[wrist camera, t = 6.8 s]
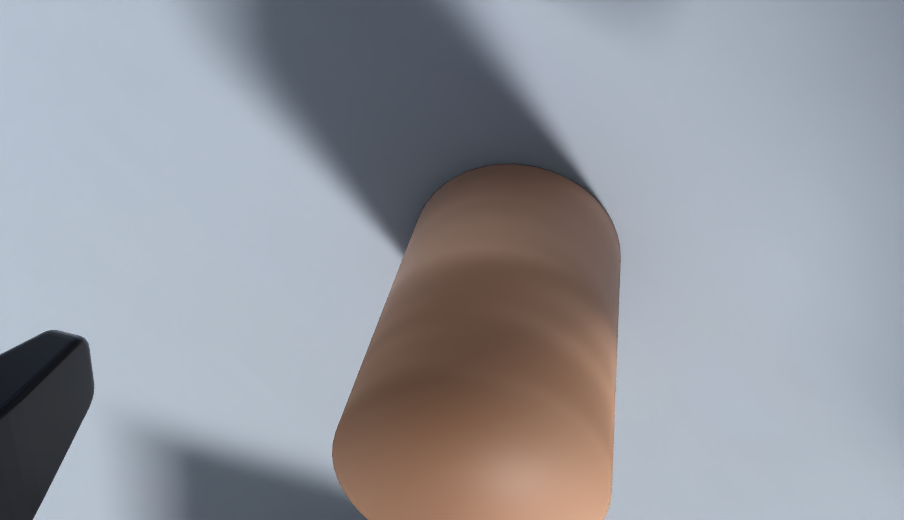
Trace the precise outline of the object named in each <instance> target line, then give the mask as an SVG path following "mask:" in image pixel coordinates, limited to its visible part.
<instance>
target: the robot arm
mask: <svg viewBox="0 0 904 520" xmlns="http://www.w3.org/2000/svg"><path fill="white" fill-rule="evenodd" d="M93 394H94V379H93V372H92V364H91V356H90V349H89V344H88V342H87V341H86V339H85V338H83V337H81V336H78V335H74V334H70V333H66V332H62V331H58V330H50V331H46V332H44V333H41V334H39V335H37V336H35V337H33V338H32V339H30V340H28V341H26V342H24V343H22V344H20V345H18V346H16V347H14V348H12V349H10V350H8V351H6V352H4V353H2V354H0V520H33V518H34V516H35V514H36V512H37V511H38V509H39V507H40V505H41V503H42V501H43V499H44V497H45V495H46V493H47V491H48V489H49V487H50V485H51V483H52V481H53V479H54V477H55V475H56V473H57V471H58V469H59V467H60V465H61V463H62V461H63V459H64V457H65V455H66V453H67V451H68V449H69V447H70V445H71V443H72V441H73V439H74V437H75V435H76V433H77V431H78V429H79V427H80V425H81V423H82V421H83V419H84V417H85V415H86V413H87V411H88V409H89V407H90V404H91V402H92V399H93Z"/></svg>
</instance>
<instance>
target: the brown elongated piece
mask: <svg viewBox="0 0 904 520" xmlns="http://www.w3.org/2000/svg"><path fill="white" fill-rule="evenodd" d="M620 262H621V256H620V244H619V240H618V235H617V233H616V230H615V227H614V225H613V223H612V221H611V219H610V217H609V216H608V214H607V212H606V211H605V210H604V208H603V207H602V206H601V205H600V203H599V202H598V201H597V200H596V199H595V198H594V197H593V196H592V195H591V194H590V193H588V192H587V191H586V190H585V189H583V188H582V187H581V186H579V185H578V184H576V183H574V182H573V181H571V180H569V179H568V178H566V177H563V176H561V175H559V174H557V173H555V172H552V171H548V170H545V169H542V168H538V167H533V166H528V165H518V164H499V165H491V166H485V167H480V168H477V169H474V170H470V171H468V172H465V173H463V174H461V175H458V176H457V177H455V178H453V179H452V180H450V181H448V182H447V183H445V184H444V185H443V186H442V187H441V188H439V189H438V190H437V191H436V192H435V193H434V194H433V195H432V196H431V198H430V199H429V200H428V202H427V203H426V205H425V206H424V208H423V209H422V211H421V214H420V216H419V218H418V221H417V223H416V226H415V228H414V231H413V233H412V236H411V239H410V241H409V244H408V246H407V249H406V252H405V254H404V257H403V259H402V262H401V264H400V267H399V270H398V272H397V275H396V277H395V280H394V282H393V285H392V288H391V290H390V293H389V295H388V298H387V301H386V303H385V306H384V308H383V311H382V313H381V316H380V319H379V321H378V324H377V326H376V329H375V332H374V334H373V337H372V339H371V342H370V344H369V347H368V350H367V352H366V355H365V357H364V360H363V363H362V365H361V368H360V370H359V373H358V375H357V378H356V381H355V383H354V386H353V388H352V391H351V393H350V396H349V399H348V401H347V404H346V406H345V409H344V412H343V414H342V417H341V419H340V422H339V424H338V427H337V430H336V432H335V436H334V440H333V449H332V458H333V465H334V469H335V472H336V476H337V479H338V481H339V483H340V485H341V487H342V489H343V491H344V492H345V494H346V495H347V497H348V498H349V500H350V501H351V503H352V504H353V505H354V506H355V507H356V508H357V509H358V511H359V512H360V513H361V514H362V515H363V516H364V517H366V518H367V519H368V520H604V518H605V517H606V514H607V511H608V508H609V506H610V500H611V493H612V470H613V444H614V418H615V392H616V366H617V340H618V314H619V288H620Z"/></svg>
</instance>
